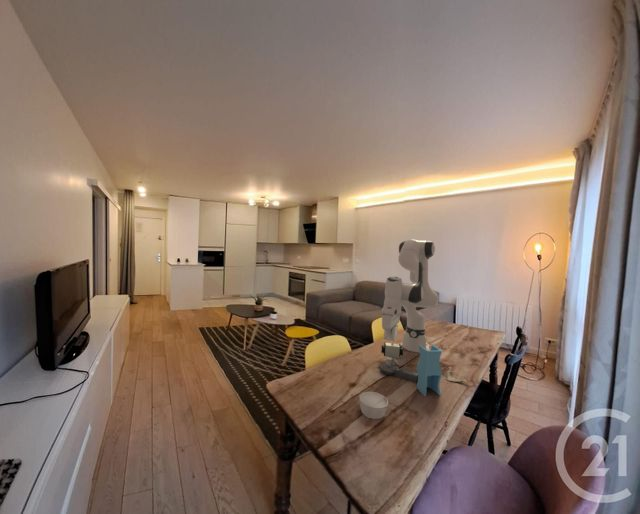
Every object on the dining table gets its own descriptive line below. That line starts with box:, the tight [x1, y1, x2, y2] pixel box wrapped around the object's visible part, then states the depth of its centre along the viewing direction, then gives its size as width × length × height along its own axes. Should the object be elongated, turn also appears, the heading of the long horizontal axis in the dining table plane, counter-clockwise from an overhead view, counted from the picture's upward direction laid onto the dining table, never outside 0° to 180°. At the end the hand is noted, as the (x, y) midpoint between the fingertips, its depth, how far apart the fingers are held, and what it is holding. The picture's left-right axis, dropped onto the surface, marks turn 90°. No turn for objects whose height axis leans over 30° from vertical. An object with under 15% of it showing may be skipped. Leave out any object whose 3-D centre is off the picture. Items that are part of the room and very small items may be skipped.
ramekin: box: [358, 391, 389, 420], centre depth 105 cm, size 11×11×5 cm
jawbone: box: [444, 366, 469, 385], centre depth 141 cm, size 9×20×2 cm, turn 177°
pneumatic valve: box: [380, 342, 404, 365], centre depth 151 cm, size 6×12×12 cm, turn 78°
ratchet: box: [380, 356, 418, 383], centre depth 136 cm, size 8×24×8 cm, turn 59°
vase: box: [416, 344, 443, 397], centre depth 123 cm, size 8×8×20 cm
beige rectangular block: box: [383, 324, 399, 342], centre depth 140 cm, size 5×5×7 cm
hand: (390, 334), depth 140 cm, fingers closed on beige rectangular block, 5 cm apart
